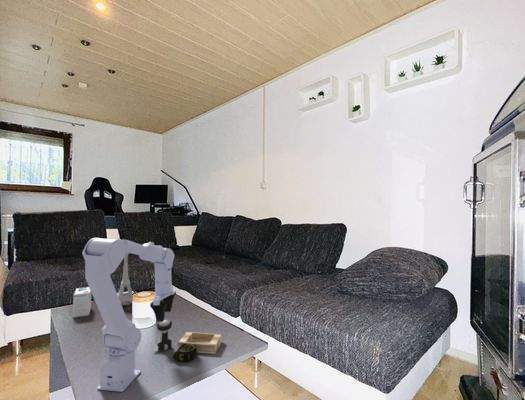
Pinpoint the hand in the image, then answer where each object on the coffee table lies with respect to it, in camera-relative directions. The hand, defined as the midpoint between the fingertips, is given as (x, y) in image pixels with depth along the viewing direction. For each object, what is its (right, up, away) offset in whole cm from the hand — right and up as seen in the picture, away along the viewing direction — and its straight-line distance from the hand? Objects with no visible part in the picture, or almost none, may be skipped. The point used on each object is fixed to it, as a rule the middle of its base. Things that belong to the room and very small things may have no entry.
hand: (164, 316), depth 103 cm
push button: (0, -12, -1) cm, 12 cm away
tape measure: (+9, -12, -7) cm, 17 cm away
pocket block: (+13, -12, +1) cm, 18 cm away
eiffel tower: (-34, -12, +40) cm, 54 cm away
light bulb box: (-51, -12, +31) cm, 60 cm away
